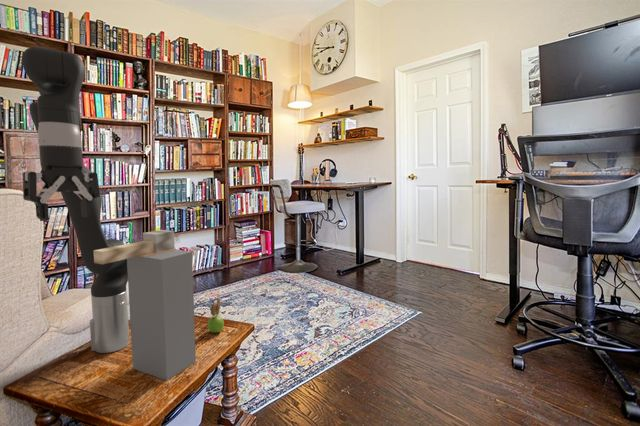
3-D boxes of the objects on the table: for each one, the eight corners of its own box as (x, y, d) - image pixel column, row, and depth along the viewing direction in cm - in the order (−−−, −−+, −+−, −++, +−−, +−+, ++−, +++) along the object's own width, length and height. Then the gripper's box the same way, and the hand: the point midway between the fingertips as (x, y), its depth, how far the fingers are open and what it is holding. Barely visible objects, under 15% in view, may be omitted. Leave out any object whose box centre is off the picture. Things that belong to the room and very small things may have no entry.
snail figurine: (227, 327, 121) (226, 294, 119) (220, 336, 114) (219, 301, 113) (212, 326, 121) (211, 293, 120) (204, 335, 115) (203, 300, 114)
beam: (105, 264, 79) (104, 243, 79) (91, 262, 82) (90, 241, 81) (174, 248, 98) (173, 231, 97) (161, 247, 100) (161, 229, 99)
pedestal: (167, 380, 89) (161, 258, 86) (132, 368, 95) (126, 253, 91) (195, 361, 98) (192, 250, 95) (163, 351, 104) (158, 246, 100)
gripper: (32, 141, 68) (39, 223, 69) (103, 147, 80) (108, 216, 82) (11, 143, 71) (18, 221, 72) (83, 148, 84) (88, 214, 85)
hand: (66, 218), depth 77 cm, fingers open, 8 cm apart
